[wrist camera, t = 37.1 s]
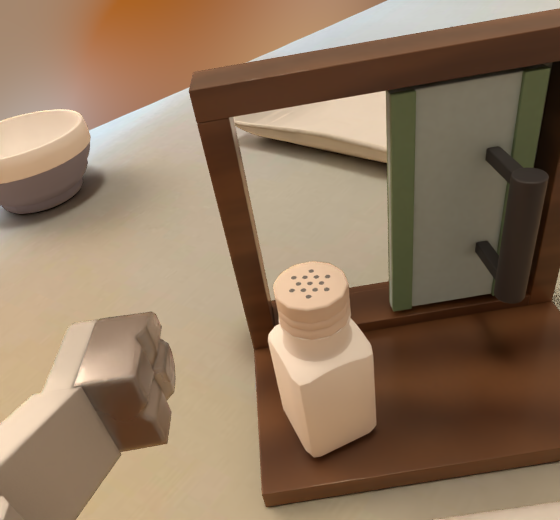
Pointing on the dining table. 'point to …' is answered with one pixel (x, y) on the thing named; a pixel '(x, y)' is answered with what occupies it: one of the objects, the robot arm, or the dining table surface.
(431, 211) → the window sash
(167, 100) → the dining table surface
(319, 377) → the salt shaker
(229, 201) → the window frame
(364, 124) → the square plate
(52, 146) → the bowl
